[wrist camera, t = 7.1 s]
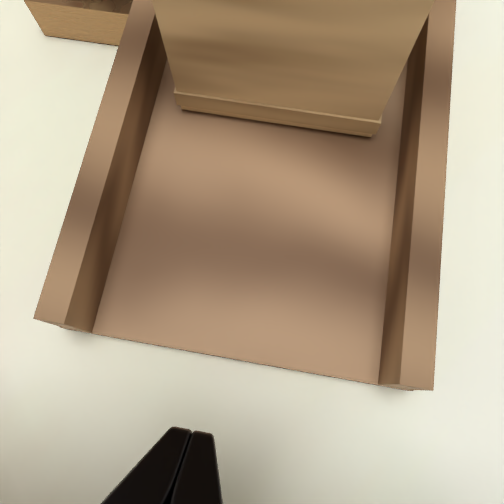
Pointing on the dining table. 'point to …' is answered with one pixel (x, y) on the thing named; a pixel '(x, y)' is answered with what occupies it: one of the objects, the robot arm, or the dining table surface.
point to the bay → (261, 224)
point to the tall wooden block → (290, 58)
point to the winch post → (82, 19)
